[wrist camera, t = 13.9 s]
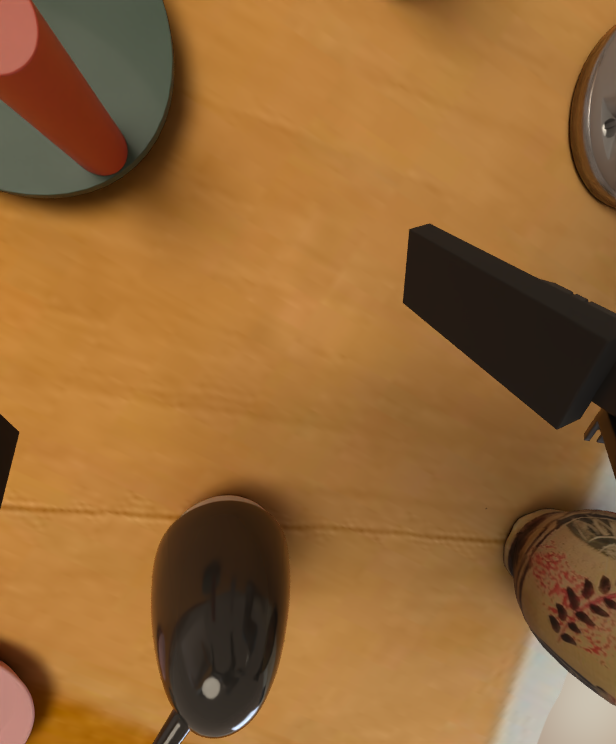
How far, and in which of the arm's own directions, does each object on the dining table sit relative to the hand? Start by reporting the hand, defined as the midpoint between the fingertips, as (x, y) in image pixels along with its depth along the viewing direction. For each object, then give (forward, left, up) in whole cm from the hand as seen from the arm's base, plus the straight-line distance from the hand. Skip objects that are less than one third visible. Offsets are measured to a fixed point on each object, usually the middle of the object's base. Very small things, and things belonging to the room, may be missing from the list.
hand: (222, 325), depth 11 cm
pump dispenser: (-7, +19, -18) cm, 27 cm away
